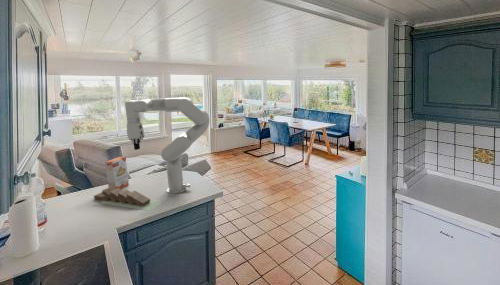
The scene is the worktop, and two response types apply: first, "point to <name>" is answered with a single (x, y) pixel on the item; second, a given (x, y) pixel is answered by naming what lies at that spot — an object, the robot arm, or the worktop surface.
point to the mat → (136, 206)
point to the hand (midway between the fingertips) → (137, 149)
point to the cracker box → (117, 173)
